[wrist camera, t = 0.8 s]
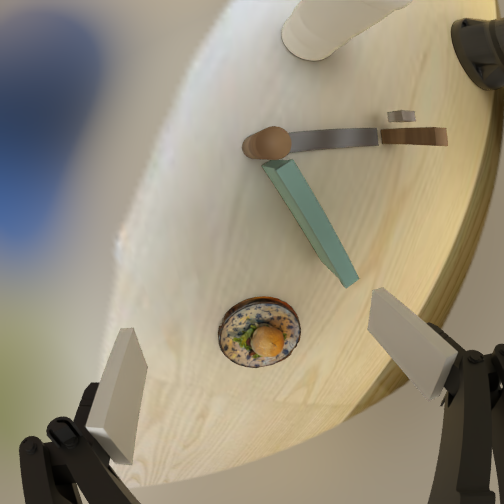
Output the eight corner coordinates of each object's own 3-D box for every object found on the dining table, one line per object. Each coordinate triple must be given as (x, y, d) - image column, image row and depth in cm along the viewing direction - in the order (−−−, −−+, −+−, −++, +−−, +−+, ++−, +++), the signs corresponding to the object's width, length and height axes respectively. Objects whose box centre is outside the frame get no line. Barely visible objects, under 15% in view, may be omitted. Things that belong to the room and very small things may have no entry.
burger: (202, 339, 40) (202, 373, 33) (253, 279, 38) (263, 307, 31) (264, 371, 44) (273, 404, 37) (314, 320, 42) (332, 350, 35)
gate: (260, 166, 31) (276, 170, 24) (273, 158, 31) (292, 159, 24) (319, 261, 36) (346, 288, 29) (330, 253, 36) (359, 278, 29)
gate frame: (390, 116, 33) (443, 110, 22) (393, 146, 34) (448, 149, 24) (238, 124, 31) (252, 109, 21) (244, 160, 32) (260, 162, 22)
